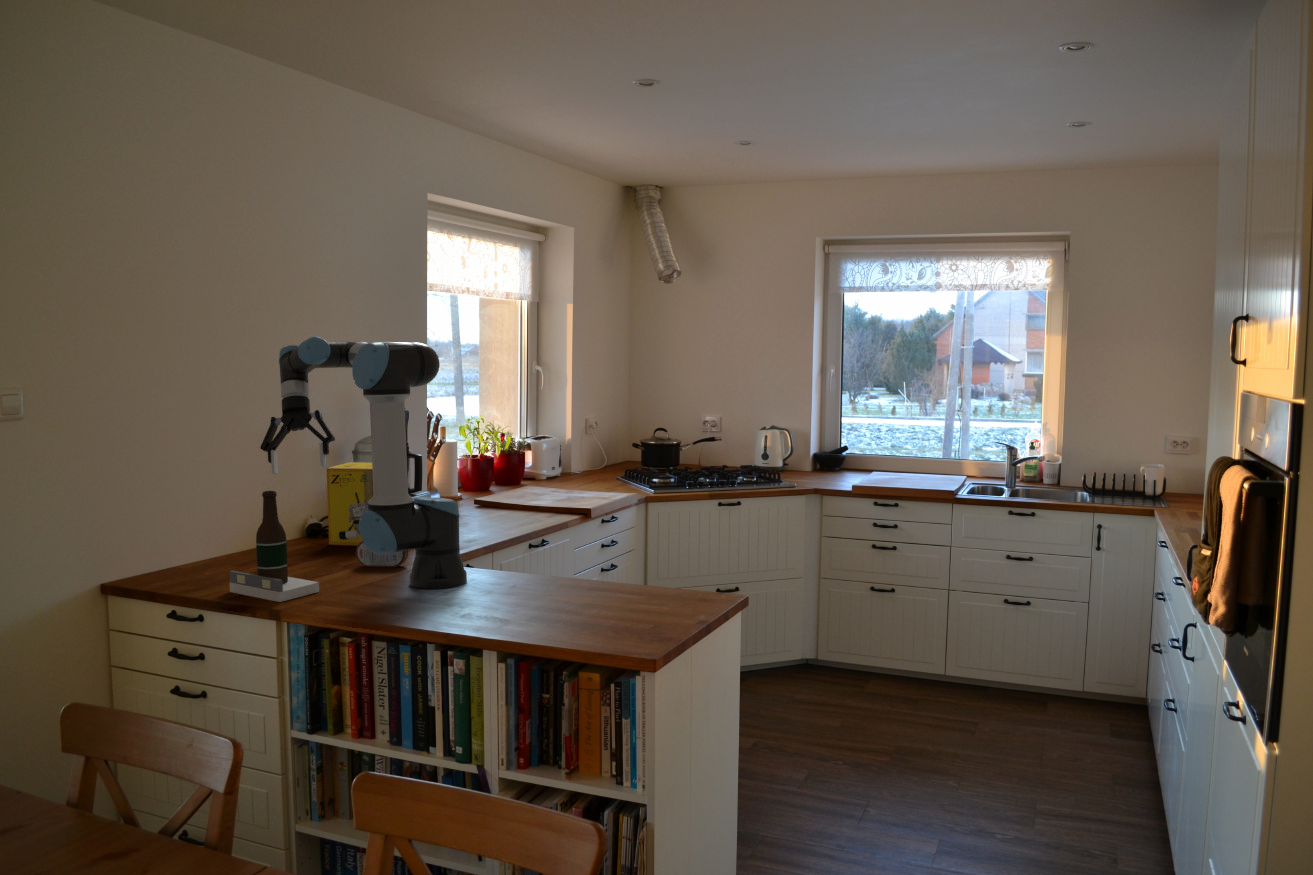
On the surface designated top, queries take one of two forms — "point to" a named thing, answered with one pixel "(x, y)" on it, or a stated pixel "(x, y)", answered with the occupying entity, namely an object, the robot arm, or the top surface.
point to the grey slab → (270, 586)
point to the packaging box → (348, 500)
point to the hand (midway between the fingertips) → (299, 469)
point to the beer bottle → (271, 542)
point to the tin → (379, 557)
